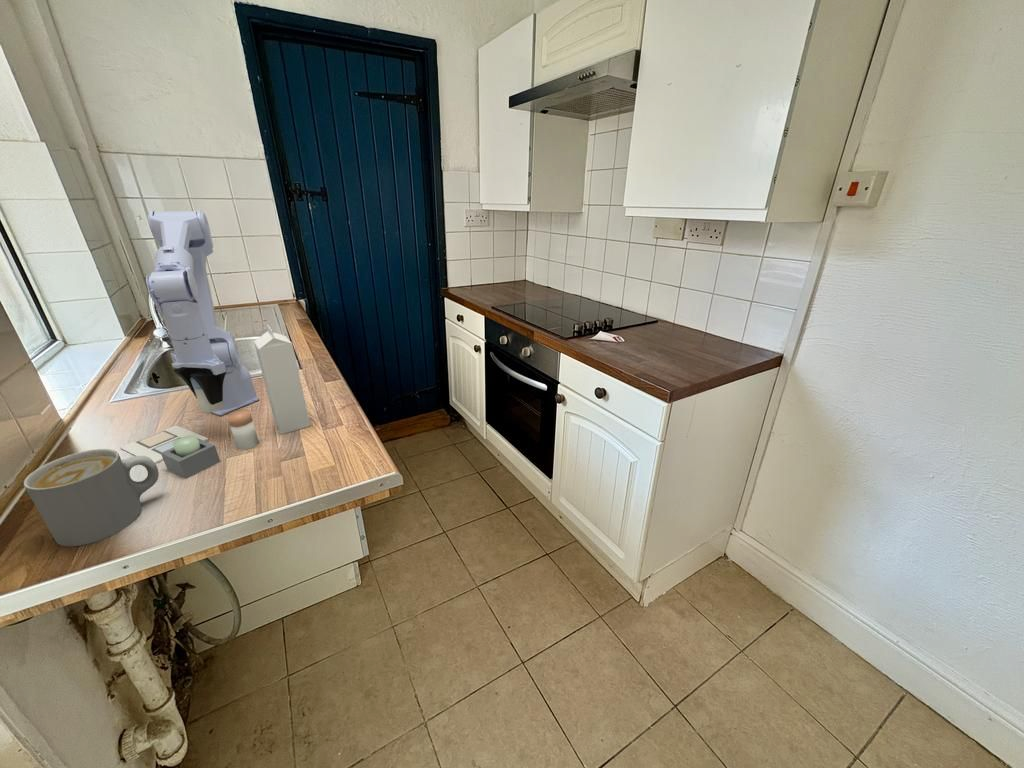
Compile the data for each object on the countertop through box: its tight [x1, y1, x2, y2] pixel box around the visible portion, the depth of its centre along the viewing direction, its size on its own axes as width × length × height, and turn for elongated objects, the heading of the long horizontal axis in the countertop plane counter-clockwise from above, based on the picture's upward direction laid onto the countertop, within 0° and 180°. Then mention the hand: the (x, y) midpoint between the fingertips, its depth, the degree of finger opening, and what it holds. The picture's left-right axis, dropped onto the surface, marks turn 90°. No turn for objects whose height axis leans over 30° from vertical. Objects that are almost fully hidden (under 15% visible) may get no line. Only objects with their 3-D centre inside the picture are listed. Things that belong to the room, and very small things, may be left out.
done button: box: [173, 435, 201, 458], centre depth 77 cm, size 4×4×4 cm
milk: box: [253, 324, 311, 435], centre depth 88 cm, size 6×6×22 cm
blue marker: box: [190, 377, 224, 414], centre depth 85 cm, size 4×4×7 cm
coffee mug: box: [23, 448, 160, 547], centre depth 64 cm, size 13×10×10 cm
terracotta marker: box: [226, 408, 259, 451], centre depth 83 cm, size 4×4×7 cm
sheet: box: [120, 424, 209, 465], centre depth 85 cm, size 10×12×1 cm
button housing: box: [161, 438, 221, 479], centre depth 78 cm, size 6×6×4 cm
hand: (210, 400), depth 86 cm, fingers closed on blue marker, 4 cm apart
